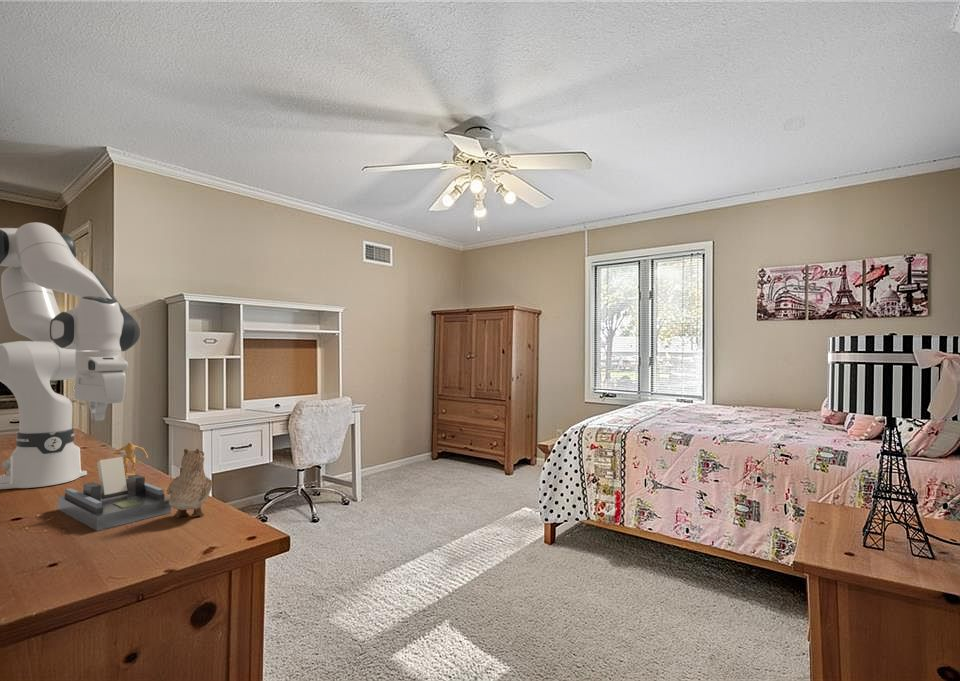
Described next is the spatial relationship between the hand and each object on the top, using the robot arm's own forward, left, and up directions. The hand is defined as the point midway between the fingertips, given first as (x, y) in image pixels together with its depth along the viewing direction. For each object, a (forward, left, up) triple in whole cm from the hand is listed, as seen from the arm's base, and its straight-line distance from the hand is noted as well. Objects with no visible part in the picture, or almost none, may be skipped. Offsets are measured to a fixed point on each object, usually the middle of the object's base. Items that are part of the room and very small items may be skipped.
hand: (97, 420), depth 119 cm
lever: (+11, 0, -16) cm, 19 cm away
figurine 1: (-8, +10, -20) cm, 24 cm away
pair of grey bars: (+11, 0, -17) cm, 20 cm away
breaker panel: (+11, 0, -20) cm, 23 cm away
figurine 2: (+29, +8, -20) cm, 36 cm away
